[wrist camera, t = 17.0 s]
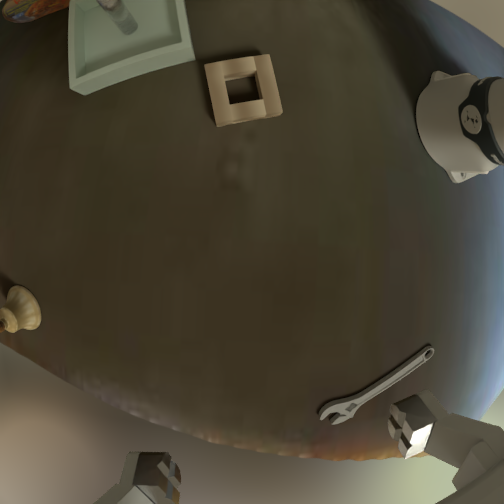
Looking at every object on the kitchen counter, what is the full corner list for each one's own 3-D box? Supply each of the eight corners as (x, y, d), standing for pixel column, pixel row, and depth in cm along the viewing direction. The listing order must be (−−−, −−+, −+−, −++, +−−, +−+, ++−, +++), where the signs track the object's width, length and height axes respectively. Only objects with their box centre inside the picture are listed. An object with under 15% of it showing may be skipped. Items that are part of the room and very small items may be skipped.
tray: (180, -22, 27) (177, -38, 23) (195, 59, 32) (191, 46, 27) (81, 12, 27) (69, 0, 22) (84, 95, 31) (69, 88, 27)
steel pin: (141, 14, 28) (112, -35, 15) (143, 33, 29) (112, -15, 16) (117, 23, 28) (81, -22, 15) (118, 41, 29) (79, -1, 16)
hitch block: (266, 61, 32) (269, 54, 30) (279, 115, 35) (282, 112, 32) (205, 70, 32) (204, 64, 30) (216, 126, 34) (216, 123, 32)
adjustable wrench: (429, 341, 47) (434, 345, 45) (432, 362, 49) (436, 366, 47) (315, 407, 48) (318, 413, 46) (325, 424, 50) (328, 430, 48)
